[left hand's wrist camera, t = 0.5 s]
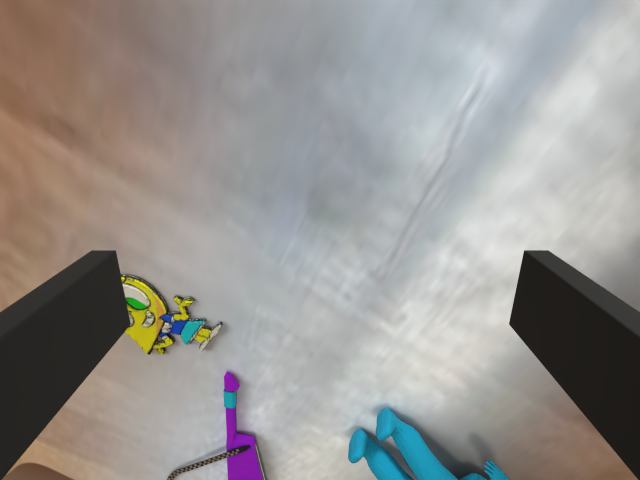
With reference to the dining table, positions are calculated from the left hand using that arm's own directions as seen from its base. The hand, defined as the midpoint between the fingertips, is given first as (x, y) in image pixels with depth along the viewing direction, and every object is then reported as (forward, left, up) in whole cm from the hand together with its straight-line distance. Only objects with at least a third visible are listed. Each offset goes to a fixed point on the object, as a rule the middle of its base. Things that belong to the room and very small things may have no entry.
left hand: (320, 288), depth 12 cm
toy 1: (+19, -19, -28) cm, 39 cm away
